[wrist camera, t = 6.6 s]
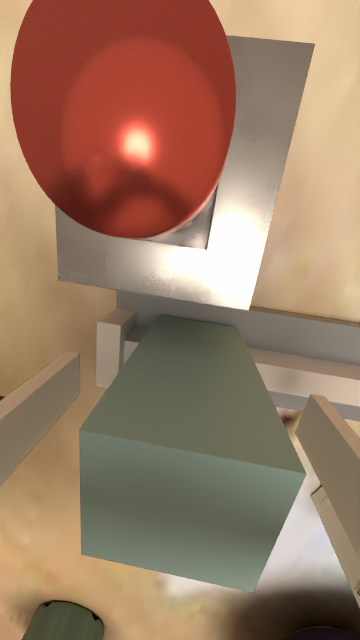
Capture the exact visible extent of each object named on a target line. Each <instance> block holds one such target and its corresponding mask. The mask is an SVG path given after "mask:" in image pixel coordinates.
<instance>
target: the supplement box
mask: <svg viewBox="0 0 360 640" xmlns="http://www.w3.org/2000/svg"><path fill="white" fill-rule="evenodd" d="M312 500H313V502H314V504H315V507H316V509H317V511H318V514H319V516H320V518H321V521H322V523H323V525H324V528H325V530H326V532H327V534H328V537H329V539H330V541H331V544H332V546H333V548H334V550H335V553H336V555H337V557H338V559H339V562H340V564H341V567H342V569H343V571H344V573H345V576H346V578H347V580H348V583H349V585H350V587H351V589H352V592H353V594H354V596H355V599H356V601H357V603H358V606H359V608H360V560H359V558H358V556H357V554H356V552H355V550H354V548H353V546H352V544H351V542H350V540H349V538H348V536H347V534H346V532H345V530H344V528H343V526H342V524H341V522H340V520H339V518H338V516H337V514H336V512H335V510H334V508H333V506H332V504H331V502H330V500H329V498H328V496H327V494H326V493H325V491H324V489H323V487H321V488H320V489H319V490H318V491H317V492H315V493H314V494H313V495H312Z"/></svg>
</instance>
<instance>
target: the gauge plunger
mask: <svg viewBox="0 0 360 640" xmlns="http://www.w3.org/2000/svg"><path fill="white" fill-rule="evenodd" d="M10 86H11V105H12V113H13V120H14V125H15V129H16V133H17V137H18V140H19V143H20V146H21V149H22V152H23V155H24V157H25V159H26V162H27V164H28V166H29V168H30V170H31V172H32V174H33V175H34V177H35V179H36V181H37V182H38V184H39V185H40V187H41V188H42V189H43V191H44V192H45V193H46V195H47V196H48V197H49V198H50V199H51V200H52V202H53V203H54V204H55V205H56V206H57V207H58V208H59V209H60V210H62V211H63V212H64V213H65V214H66V215H67V216H69V217H70V218H71V219H73V220H74V221H76V222H77V223H79V224H81V225H83V226H84V227H86V228H88V229H90V230H93V231H96V232H98V233H101V234H105V235H110V236H114V237H121V238H127V239H136V240H147V239H155V238H159V237H163V236H166V235H169V234H171V233H174V232H179V231H182V230H184V229H186V228H187V227H189V226H190V225H191V224H192V223H193V222H194V221H195V219H196V218H197V216H198V214H199V213H200V212H201V210H202V209H203V208H204V207H205V205H206V204H207V203H208V201H209V200H210V198H211V196H212V195H213V193H214V191H215V189H216V187H217V185H218V183H219V180H220V177H221V175H222V172H223V169H224V165H225V161H226V157H227V154H228V150H229V146H230V141H231V137H232V133H233V128H234V120H235V112H236V83H235V72H234V66H233V61H232V56H231V51H230V47H229V44H228V41H227V38H226V35H225V32H224V29H223V27H222V25H221V22H220V20H219V18H218V16H217V14H216V12H215V10H214V8H213V7H212V5H211V3H210V2H209V0H33V1H32V3H31V5H30V6H29V8H28V10H27V12H26V15H25V17H24V19H23V22H22V24H21V27H20V30H19V33H18V37H17V40H16V44H15V48H14V54H13V60H12V67H11V83H10Z"/></svg>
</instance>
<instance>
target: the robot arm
mask: <svg viewBox="0 0 360 640" xmlns="http://www.w3.org/2000/svg"><path fill="white" fill-rule="evenodd" d="M79 394H80V353H75V352H69V351H66V352H65V353H64V354H62V355H61V356H60V357H58V358H57V359H56V360H54V361H53V362H52V363H50V364H49V365H48V366H46V367H45V368H44V369H42V370H41V371H40V372H38V373H37V374H36V375H34V376H33V377H32V378H30V379H29V380H28V381H26V382H25V383H24V384H22V385H21V386H19V387H18V388H17V389H15V390H14V391H13V392H11V393H10V394H9V395H7V396H6V397H4V396H0V486H1V485H2V484H3V483H4V481H5V480H6V479H7V478H8V477H9V476H10V474H11V473H12V472H13V471H14V470H15V469H16V467H17V466H18V465H19V464H20V463H21V462H22V460H23V459H24V458H25V457H26V456H27V455H28V453H29V452H30V451H31V450H32V449H33V448H34V446H35V445H36V444H37V443H38V442H39V440H40V439H41V438H42V437H43V436H44V435H45V433H46V432H47V431H48V430H49V429H50V428H51V426H52V425H53V424H54V423H55V422H56V421H57V419H58V418H59V417H60V416H61V415H62V414H63V412H64V411H65V410H66V409H67V408H68V407H69V405H70V404H71V403H72V402H73V401H74V400H75V398H76V397H77V396H78V395H79ZM295 433H296V435H297V437H298V439H299V441H300V443H301V445H302V447H303V449H304V451H305V453H306V455H307V457H308V459H309V461H310V463H311V465H312V467H313V469H314V471H315V473H316V475H317V477H318V479H319V481H320V483H321V485H322V487H323V489H324V491H325V493H326V494H327V496H328V498H329V500H330V502H331V504H332V506H333V508H334V510H335V512H336V514H337V516H338V518H339V520H340V522H341V524H342V526H343V528H344V530H345V532H346V534H347V536H348V538H349V540H350V542H351V544H352V546H353V548H354V550H355V552H356V554H357V556H358V558H359V560H360V438H359V436H358V435H357V434H356V433H355V432H354V431H353V429H352V428H351V427H350V426H349V425H348V423H347V422H346V421H345V420H344V419H343V417H342V416H341V415H340V414H339V413H338V411H337V410H336V409H335V408H334V407H333V405H332V404H331V403H330V402H329V401H328V399H327V398H326V397H325V396H321V395H316V394H310V396H309V398H308V401H307V404H306V406H305V409H304V411H303V414H302V416H301V419H300V421H299V424H298V426H297V429H296V431H295Z"/></svg>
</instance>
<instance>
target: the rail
mask: <svg viewBox="0 0 360 640" xmlns="http://www.w3.org/2000/svg"><path fill="white" fill-rule="evenodd" d="M159 315H164V316H170V317H176V318H183V319H189V320H195V321H201V322H207V323H213V324H220V325H226V326H232V327H237V329H238V332H239V334H240V336H241V338H244V341H245V343H246V345H247V347H248V349H249V351H250V354H251V356H252V358H253V360H254V362H255V364H256V366H257V369H258V371H259V373H260V375H261V377H262V379H263V381H264V384H265V386H266V388H267V390H268V392H269V394H270V397H271V399H272V401H273V403H274V405H275V406H277V407H283V408H288V409H294V410H299V411H304V409H305V406H306V404H307V401H308V398H309V396H310V394H316V395H321V396H325V397H326V398H327V399H328V401H329V402H330V403H331V404H332V405H333V407H334V408H335V409H336V410H337V411H338V413H339V414H340V415H341V416H342V417H343V418H344V419H350V420H355V421H360V323H355V322H348V321H342V320H336V319H329V318H323V317H316V316H310V315H304V314H297V313H291V312H285V311H278V310H272V309H265V308H259V307H253V306H250V307H249V310H243V309H236V308H230V307H224V306H217V305H211V304H205V303H198V302H192V301H186V300H179V299H173V298H167V297H160V296H154V295H148V294H141V293H135V292H129V291H122V290H118V296H117V308H116V309H115V310H113V311H112V312H110V313H109V314H107V315H106V316H104V317H103V318H101V319H100V320H98V321H97V341H96V387H101V388H106V389H108V388H109V386H110V385H111V383H112V382H113V380H114V379H115V377H116V376H117V374H118V373H119V371H120V370H121V368H122V367H123V366H124V364H125V363H126V361H127V360H128V358H129V357H130V355H131V354H132V352H133V351H134V349H135V348H136V346H137V345H138V344H139V342H140V341H141V339H142V338H143V336H144V335H145V333H146V332H147V330H148V329H149V327H150V326H151V324H152V323H154V322H155V321H156V319H157V318H158V316H159Z"/></svg>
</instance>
